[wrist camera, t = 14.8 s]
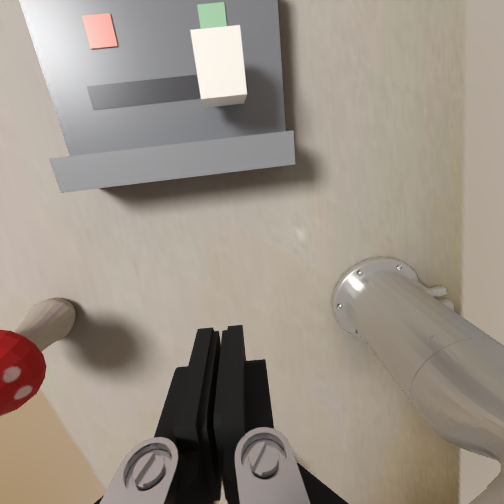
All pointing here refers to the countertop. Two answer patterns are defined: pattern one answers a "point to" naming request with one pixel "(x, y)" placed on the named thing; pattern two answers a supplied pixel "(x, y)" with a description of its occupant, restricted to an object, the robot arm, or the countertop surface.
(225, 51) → the knob
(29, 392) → the decorative mushroom
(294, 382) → the countertop surface
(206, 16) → the panel
